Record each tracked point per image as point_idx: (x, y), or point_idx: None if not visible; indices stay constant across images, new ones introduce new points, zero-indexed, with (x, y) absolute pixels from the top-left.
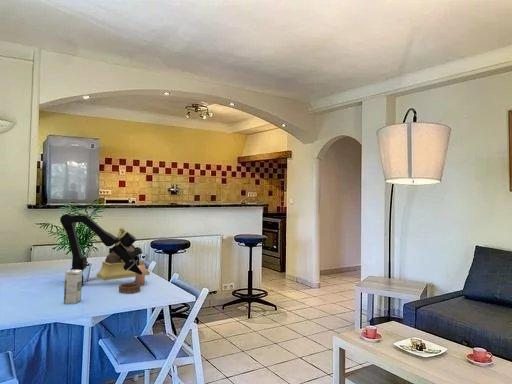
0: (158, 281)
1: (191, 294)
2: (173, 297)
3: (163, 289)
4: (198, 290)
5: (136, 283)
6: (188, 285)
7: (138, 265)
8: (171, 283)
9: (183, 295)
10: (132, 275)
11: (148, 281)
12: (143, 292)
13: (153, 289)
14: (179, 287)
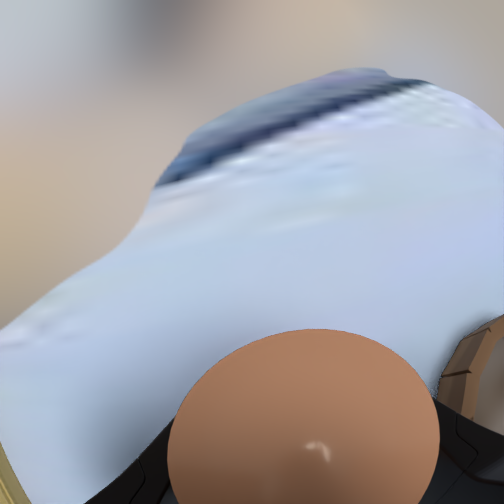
0: (142, 275)
1: (424, 87)
2: (491, 136)
3: (401, 184)
4: (356, 68)
5: (472, 376)
6: (268, 95)
7: (362, 494)
8: (217, 171)
9: (451, 107)
10: (12, 483)
11: (137, 363)
12: (500, 287)
13: (423, 245)
14: (325, 119)
